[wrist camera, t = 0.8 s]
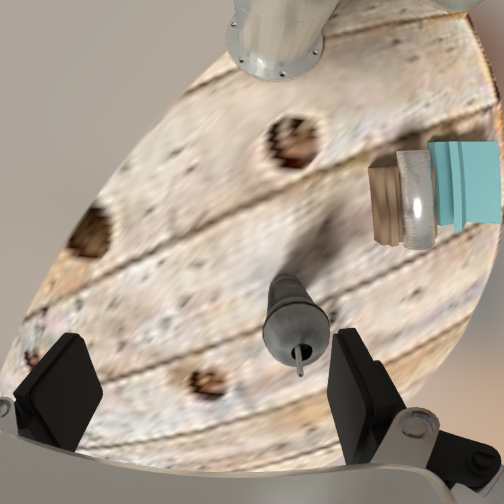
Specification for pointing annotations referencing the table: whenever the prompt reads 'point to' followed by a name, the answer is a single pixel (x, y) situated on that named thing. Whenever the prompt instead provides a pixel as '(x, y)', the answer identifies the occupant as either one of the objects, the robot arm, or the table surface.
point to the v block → (466, 182)
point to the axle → (416, 199)
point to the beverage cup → (294, 324)
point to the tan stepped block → (390, 204)
